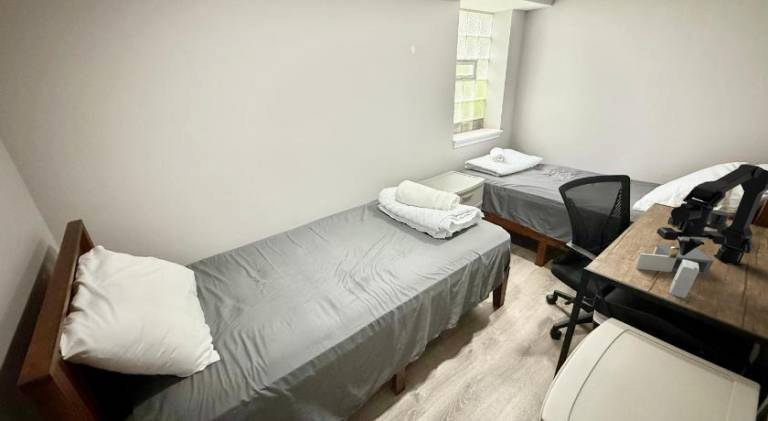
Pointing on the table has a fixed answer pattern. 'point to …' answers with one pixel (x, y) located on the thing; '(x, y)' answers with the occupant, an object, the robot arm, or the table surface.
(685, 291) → the skincare box
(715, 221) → the ink bottle
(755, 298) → the table surface
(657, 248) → the case
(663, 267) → the side door
